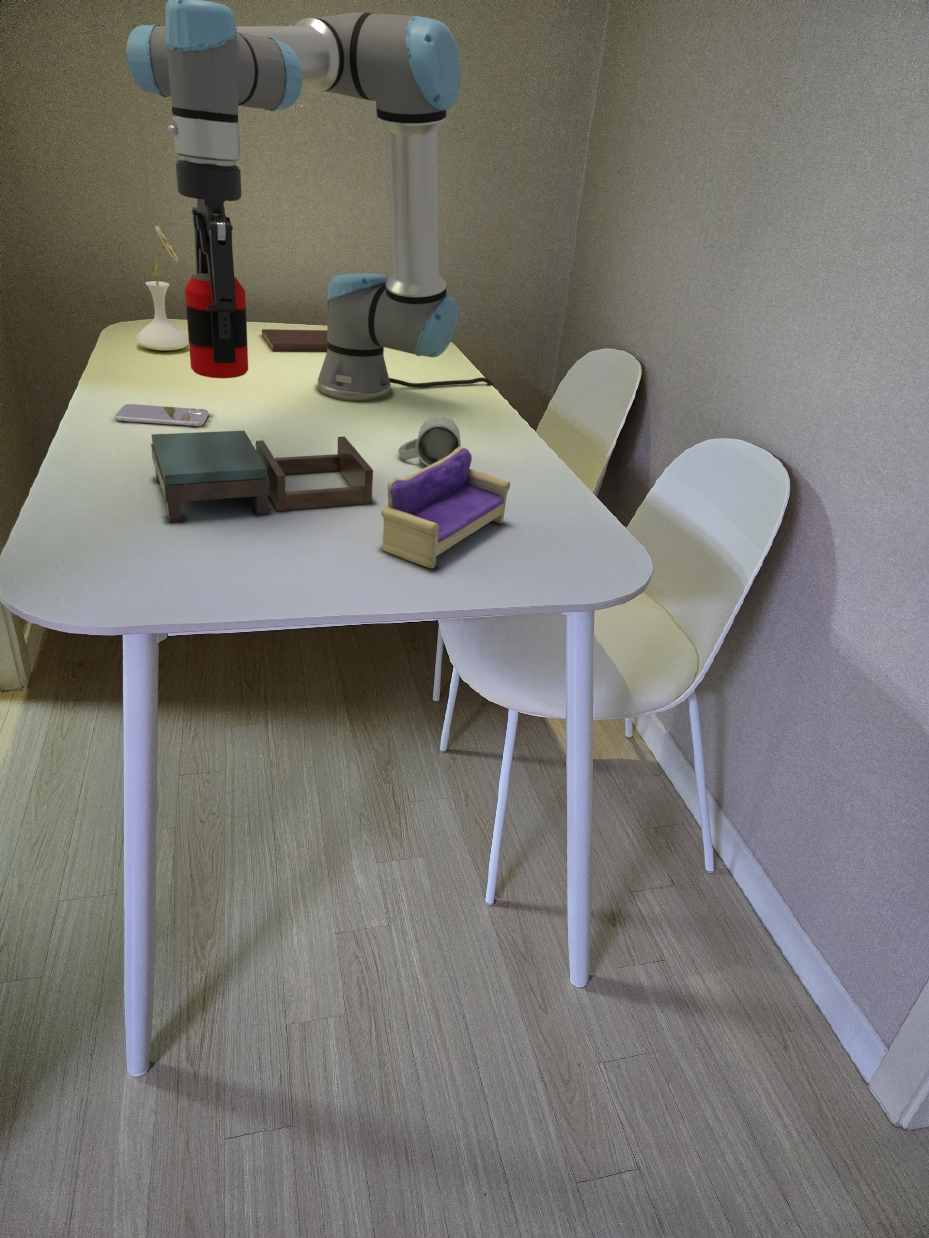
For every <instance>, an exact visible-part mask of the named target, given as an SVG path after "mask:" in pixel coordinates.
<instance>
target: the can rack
mask: <svg viewBox="0 0 929 1238" xmlns="http://www.w3.org/2000/svg"><path fill="white" fill-rule="evenodd" d="M255 449H256V451H257V453H258V454H259V456H260V458H261V459H262V461H263V463H264V464H265V466H266V468H267V476H268V478H269V492H270V495H268V497H269V498H270V500H271V501H272V503H273V505H274V507H275V509H276V510H277V512H287V511H299V510H308V509H309V510H310V509H311V510H312V509H320V508H321V509H323V508H334V507H345V506H347V507H348V506H357V505H368V504H372V501H373V483H374V482H373V481H374V480H373V478H374V477H373V476H374V469H373V468H372V467H371V466H370V465H369V463H368V462H367V461H366V460H365V458H364V457H363V456H362V455H361V454H360V453H359V452H358V450H357V449H356V448H355V447H354V445H353V444H352V443H351V442H350V441H349V440H348V439H347V437H346V436H343V435H342V436H337V450H336V451H337V453H336V454H319V455H318V454H316V455H301V456H299V455H297V456H282V457H281V456H280V457H274V455H273V453H272V452H271V450H270V449H269V447H268V446H267V444H266V442H265V441H264V439H262V440H261V439H259V440H258V439H257V440H255ZM329 472H331V473H332V472H339V473H340V474H341V476H342V477H343V479H344V480H345V481H346V482H347V483H348V485H349V486H345V487H331V488H329V487H328V488H320V489H319V488H317V489H305V490H292V491H291V490H290V491H286V490H287V487H286V486H287V484H286V480H287V479H286V475H297V474H314V473H329Z"/></svg>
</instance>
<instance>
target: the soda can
mask: <svg viewBox="0 0 929 1238" xmlns="http://www.w3.org/2000/svg"><path fill="white" fill-rule="evenodd" d="M234 278H235V293H236V303H237V309H236V310H234V312H233V315H234V336H235V358H236V363H214V358H213V342H212V325H211V312H207V306H212V298H211V289H210V281H209V273H202V274H196V273H194V274H192V275H191V277H190V279H188V282H187V283H186V284H185V285H184V296H185V297H184V298H185V310H186V322H187V337H188V339H189V343H188V347H189V348H188V350H189V361H190V369H191V370H192V372H194V373H195V374H196V375H199V376H201V377H206V378H211V379H236V378H241V377H243V376H244V375H246V374H247V373H248V371H249V351H248V350H249V349H248V327H247V326H248V324H247V304H246V303H247V297H246V290H245V288H244V287H243V285H242V284H241V282H240V281H239V280H238V278H237V277H235V276H234ZM222 299H225V300H227V298H222Z"/></svg>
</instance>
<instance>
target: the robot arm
mask: <svg viewBox="0 0 929 1238" xmlns="http://www.w3.org/2000/svg"><path fill="white" fill-rule="evenodd" d="M164 10H165V12H164V13H165V25H162V24H157V23H156V24H151V25H149V24H141V25H137V26H136V27H134V29H132V31H131V32H130V34H129V35H128V38H127V41H126V46H125V47H126V49H125V50H126V51H125V53H126V58H127V63H128V68H129V69H128V70H129V72H130V74H131V77H132V78H133V80H134V81H135V83H136V84H137V85H138V86H139V88H141V89H142V90H143V91H144V92H146V93H149V94H153V95H159V96H161V97H162V98H168V97H170V100H171V114H172V122H173V124H169V125H168V126H167V132H168V134H170V135H175V136H174V137H173V140H174V141H173V142H174V152H175V153H176V154H177V155H178V156H180V159H178V160H176V162H175V174H176V187H177V188H176V189H177V192H178V193H179V194H180V195H181V196H182V197H185V198H190V199H196V207H195V206H192V210H191V215H192V223H193V233H194V253H195V254H194V255H195V274H202V273H209V281H210V289H211V298H212V306H207V312H211V325H212V342H213V358H214V363H236V358H235V336H234V315H233V312H234V310H236V309H237V303H236V293H235V278H236V277H235V265H234V252H233V251H234V250H233V230H234V228H233V224H232V222H231V217H230V216H227V215H226V209H225V202H226V201H227V202H235V201H239V200H240V199H241V198H242V175H241V174H242V172H241V169H240V166H238V165H237V164H236V163H237V162H239V161H241V133H240V132H241V131H240V122H239V107H244V108H251V109H261V110H264V111H270V112H275V111H283V110H284V111H285V110H287V109H290V108H291V107H292V106H294V105H295V104H296V103H297V101H298V99H299V98H300V95H301V92H302V89H303V88H304V89H306V90H308V91H309V92H312V93H323V92H326V93H331V94H338V95H342V96H347V97H352V98H356V99H359V100H365V101H372V102H375V107H376V110H375V111H376V120H378V122H379V123H380V124H381V125H382V126H383V127H384V129H385V130H386V144H387V145H386V150H387V151H386V152H387V171H388V172H387V173H388V190H389V191H388V194H389V214H390V215H389V216H390V233H391V234H390V235H391V237H390V238H391V256H392V257H391V259H392V274H391V276H390V277H389V278H388V276H387V275H386V274H382V273H374V272H373V273H372V272H371V273H370V272H369V273H368V272H359V273H358V272H357V273H344V274H338V275H334V276H333V277H332V278H331V279H330V280H329V282H328V288H327V297H326V301H327V318H326V319H327V323H326V324H327V326H326V327H327V352H326V353H325V354H326V355H325V357H324V359H323V363H322V366H321V369H320V370H319V371H320V372H319V375H318V378H317V390H318V391H319V392H320V393H322V394H323V395H325V396H327V397H331V398H334V399H338V400H344V401H350V402H351V401H352V402H372V401H379V400H382V399H386V398H387V397H389V396H390V395H391V385H392V384H395V385H396V384H397V385H399V386H403V387H408V388H414V389H415V388H416V389H417V388H418V389H419V388H430V387H441V386H443V387H444V386H457V385H474V384H476V383H486V384H487V386H494V383H493V382H492V381H491V380H490V379H489V378H487V377H476V378H472V379H457V380H439V381H429V382H408V381H405V380H401V379H398V378H397V379H396V378H392V377H390V376H389V372H388V368H387V364H386V361H385V355H384V351H385V348H386V349H390V350H393V351H398V352H403V353H407V354H411V355H415V356H417V357H428V358H437V357H440V356H441V355H442V354H443V353H444V352H445V351H446V350H447V349H448V347H449V345H450V344H451V342H452V339H453V337H454V335H455V332H456V329H457V325H458V319H459V305H458V303H457V300H456V299H455V298H453V297H452V296H448V294H447V293H448V292H447V290H448V288H447V285H448V284H447V281H446V280H445V279H444V278H443V277H442V275H440V273H439V272H440V271H439V266H440V265H439V176H438V175H439V162H438V161H439V155H438V153H439V152H438V149H439V148H438V147H439V146H438V143H439V142H438V140H439V139H438V131H439V128H440V127H441V126H442V125H443V123H444V122H446V120H447V110H449V109H451V108H452V107H454V105H455V103H456V101H457V100H458V96H459V90H458V89H459V88H461V87H460V86H461V74H462V73H461V72H462V71H461V59H460V53H459V48H458V44H457V42H456V40H455V37H454V35H453V34H452V31H451V30H450V28H449V27H448V25H446V24H445V23H444V22H442V21H441V20H438V19H433V18H428V17H423V16H421V15H409V14H407V15H406V14H405V15H404V14H391V13H389V14H387V13H371V12H361V11H355V12H346V13H341V14H334V15H327V16H319V17H305V18H302V19H300V20H298V22H296V23H295V25H257V26H256V25H253V26H252V25H251V26H249V25H247V26H245V25H242V26H240V25H239V26H236V22H235V21H236V19H235V14H234V12H233V10H232V9H231V7H229V6H227V5H225V4H222V3H219V2H213V1H208V0H167V3H165V9H164ZM234 277H235V278H234ZM222 298H227V300H225V299H222Z"/></svg>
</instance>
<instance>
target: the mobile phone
mask: <svg viewBox="0 0 929 1238" xmlns="http://www.w3.org/2000/svg"><path fill="white" fill-rule="evenodd" d="M209 413H210V412H209V410H208V409H204V408H194V407H193V408H190V407H180V406H179V407H178V406H163V405H152V404H151V405H150V404H138V403H137V404H136V403H135V404H134V403H126V404H124V405H123V406H122V407H121V408H120V409H119V411H118V412H117V413H116V414H115V419H116V421H119V422H130V423H131V422H132V423H146V424H161V425H174V426H187V427H189V426H191V427H202V426H203V425H204V424H205V422H206V420H207V418H208V416H209Z"/></svg>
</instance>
